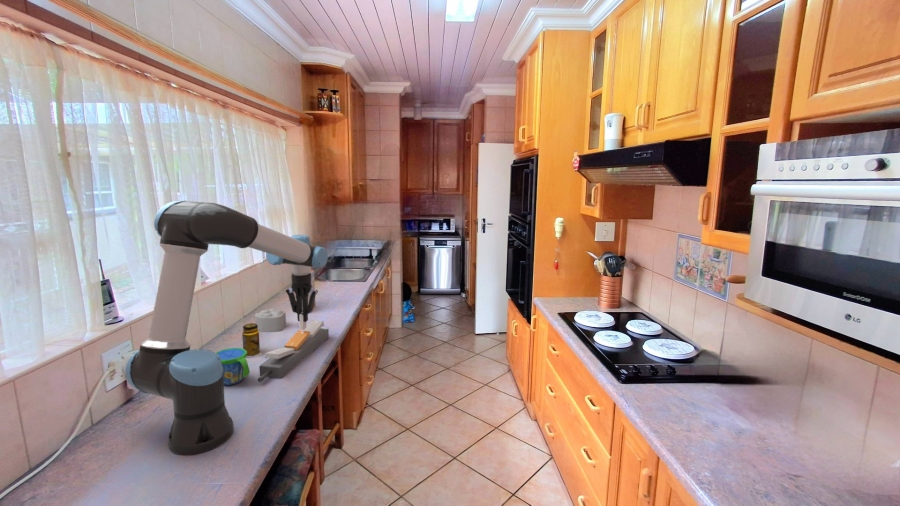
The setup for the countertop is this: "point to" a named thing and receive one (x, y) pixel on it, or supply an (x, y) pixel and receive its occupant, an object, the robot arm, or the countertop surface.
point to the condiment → (251, 340)
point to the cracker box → (312, 287)
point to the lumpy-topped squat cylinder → (270, 320)
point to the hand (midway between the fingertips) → (303, 328)
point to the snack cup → (234, 365)
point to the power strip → (291, 357)
